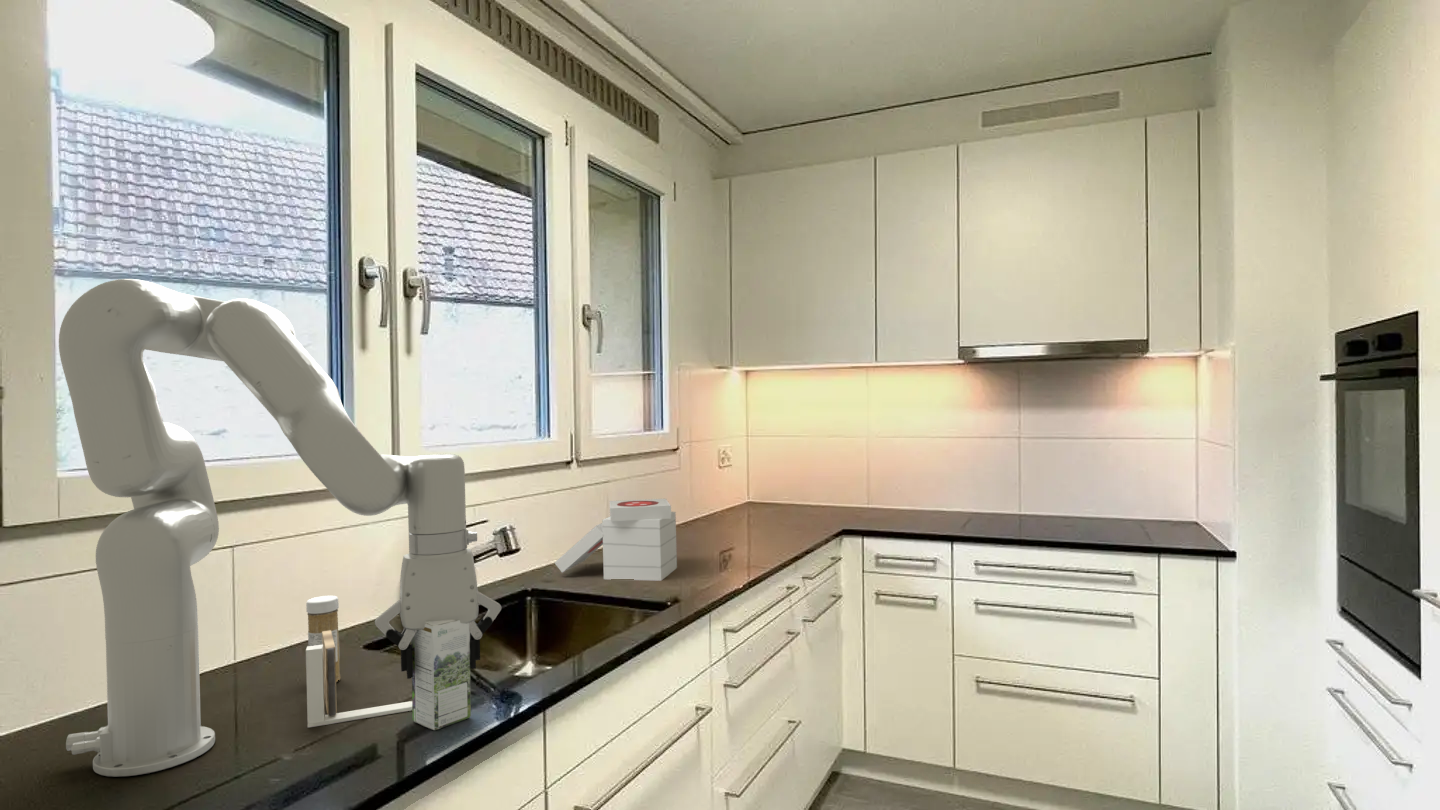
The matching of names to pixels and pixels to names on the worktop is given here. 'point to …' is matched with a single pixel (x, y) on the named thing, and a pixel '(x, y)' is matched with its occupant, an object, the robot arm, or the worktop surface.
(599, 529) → the stacked pizza boxes
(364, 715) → the door frame
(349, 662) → the worktop surface
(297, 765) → the worktop surface
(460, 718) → the syrup box
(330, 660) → the door
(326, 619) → the sprinkles bottle
